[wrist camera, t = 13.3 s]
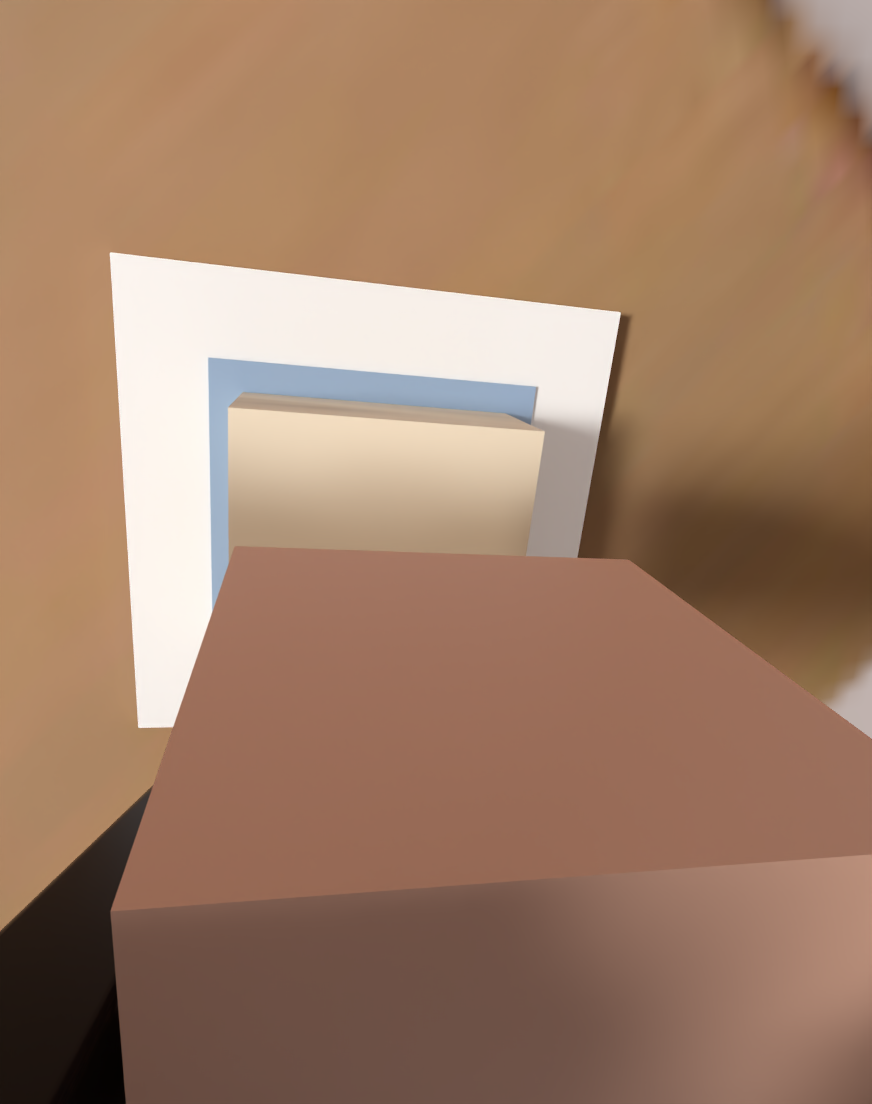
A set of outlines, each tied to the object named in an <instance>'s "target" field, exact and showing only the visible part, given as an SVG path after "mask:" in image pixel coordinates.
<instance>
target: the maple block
mask: <svg viewBox="0 0 872 1104" xmlns="http://www.w3.org/2000/svg"><path fill="white" fill-rule="evenodd" d="M544 434H545V431H543V430H541V429H538V428H536V427H534V426H532V425H530V424H528V423H525V422H523V421H521V420H519V419H517V418H515V417H512V416H510V415H508V414H506V413H496V412H484V411H471V410H459V409H447V408H434V407H422V406H410V405H397V404H385V403H373V402H360V401H348V400H336V399H323V398H311V397H299V396H286V395H274V394H262V393H249V392H242V393H241V394H240V396H239V397H238V398H237V399H236V400H235V401H234V402H233V403H232V404H231V405H230V406H229V407H228V538H229V561H230V558H231V556H232V553H233V550H234V547H235V546H249V547H278V548H307V549H336V550H365V551H394V552H422V553H451V554H480V555H509V556H526V553H527V546H528V540H529V533H530V526H531V520H532V513H533V507H534V500H535V494H536V487H537V480H538V474H539V467H540V461H541V454H542V448H543V441H544Z"/></svg>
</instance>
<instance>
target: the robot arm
mask: <svg viewBox="0 0 872 1104" xmlns="http://www.w3.org/2000/svg"><path fill="white" fill-rule="evenodd" d="M152 788H153V786H152V787H151V788H150V789H149V790H148V791H147V792H145V793H144V794H143V795H142V796H141V797H140V798H139V799H138V800H137V801H136V802H135V803H134V804H133V805H132V806H131V807H130V808H129V809H128V810H127V811H126V812H125V813H123V814H122V815H121V816H120V817H119V818H118V819H117V820H116V821H115V822H114V823H113V824H112V825H111V826H110V827H109V828H108V829H107V830H106V831H105V832H104V833H103V834H101V835H100V836H99V837H98V838H97V839H96V840H95V841H94V842H93V843H92V844H91V845H90V846H89V847H88V848H87V849H86V850H85V851H84V852H83V853H82V854H81V855H79V856H78V857H77V858H76V859H75V860H74V861H73V862H72V863H71V864H70V865H69V866H68V867H67V868H66V869H65V870H64V871H63V872H62V873H61V874H60V875H59V876H57V877H56V878H55V879H54V880H53V881H52V882H51V883H50V884H49V885H48V886H47V887H46V888H45V889H44V890H43V891H42V892H41V893H40V894H39V895H38V896H37V897H35V898H34V899H33V900H32V901H31V902H30V903H29V904H28V905H27V906H26V907H25V908H24V909H23V910H22V911H21V912H20V913H19V914H18V915H17V916H16V917H15V918H13V919H12V920H11V921H10V922H9V923H8V924H7V925H6V926H5V927H4V928H3V929H2V930H1V931H0V1104H126V1098H125V1086H124V1073H123V1061H122V1049H121V1036H120V1024H119V1011H118V999H117V987H116V974H115V962H114V950H113V937H112V925H111V912H110V911H111V908H112V905H113V902H114V899H115V896H116V893H117V891H118V888H119V885H120V882H121V879H122V876H123V873H124V870H125V867H126V864H127V861H128V858H129V855H130V852H131V849H132V846H133V844H134V841H135V838H136V835H137V832H138V829H139V826H140V823H141V820H142V817H143V814H144V811H145V808H146V805H147V802H148V799H149V797H150V794H151V791H152Z"/></svg>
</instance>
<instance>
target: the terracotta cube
mask: <svg viewBox="0 0 872 1104" xmlns="http://www.w3.org/2000/svg"><path fill="white" fill-rule="evenodd" d="M110 912H111V925H112V937H113V950H114V962H115V974H116V987H117V999H118V1011H119V1024H120V1036H121V1049H122V1061H123V1073H124V1086H125V1098H126V1104H872V739H871V738H870V737H868V736H867V735H866V734H864V733H863V732H862V731H860V730H859V729H858V728H856V727H855V726H854V725H852V724H851V723H849V722H848V721H847V720H845V719H844V718H843V717H841V716H840V715H839V714H837V713H836V712H835V711H833V710H832V709H831V708H829V707H828V706H826V705H825V704H824V703H822V702H821V701H820V700H818V699H817V698H816V697H814V696H813V695H812V694H810V693H809V692H807V691H806V690H805V689H803V688H802V687H801V686H799V685H798V684H797V683H795V682H794V681H793V680H791V679H790V678H789V677H787V676H786V675H784V674H783V673H782V672H780V671H779V670H778V669H776V668H775V667H774V666H772V665H771V664H770V663H768V662H767V661H765V660H764V659H763V658H761V657H760V656H759V655H757V654H756V653H755V652H753V651H752V650H751V649H749V648H748V647H746V646H745V645H744V644H742V643H741V642H740V641H738V640H737V639H736V638H734V637H733V636H732V635H730V634H729V633H728V632H726V631H725V630H723V629H722V628H721V627H719V626H718V625H717V624H715V623H714V622H713V621H711V620H710V619H709V618H707V617H706V616H704V615H703V614H702V613H700V612H699V611H698V610H696V609H695V608H694V607H692V606H691V605H690V604H688V603H687V602H685V601H684V600H683V599H681V598H680V597H679V596H677V595H676V594H675V593H673V592H672V591H671V590H669V589H668V588H667V587H665V586H664V585H662V584H661V583H660V582H658V581H657V580H656V579H654V578H653V577H652V576H650V575H649V574H648V573H646V572H645V571H643V570H642V569H641V568H639V567H638V566H637V565H635V564H634V563H633V562H631V561H630V560H625V559H596V558H567V557H538V556H509V555H480V554H451V553H422V552H394V551H365V550H336V549H307V548H278V547H249V546H235V547H234V550H233V553H232V556H231V558H230V561H229V564H228V567H227V570H226V573H225V576H224V579H223V582H222V585H221V588H220V591H219V594H218V597H217V600H216V603H215V606H214V608H213V611H212V614H211V617H210V620H209V623H208V626H207V629H206V632H205V635H204V638H203V641H202V644H201V647H200V650H199V653H198V655H197V658H196V661H195V664H194V667H193V670H192V673H191V676H190V679H189V682H188V685H187V688H186V691H185V694H184V697H183V700H182V702H181V705H180V708H179V711H178V714H177V717H176V720H175V723H174V726H173V729H172V732H171V735H170V738H169V741H168V744H167V747H166V749H165V752H164V755H163V758H162V761H161V764H160V767H159V770H158V773H157V776H156V779H155V782H154V785H153V788H152V791H151V794H150V797H149V799H148V802H147V805H146V808H145V811H144V814H143V817H142V820H141V823H140V826H139V829H138V832H137V835H136V838H135V841H134V844H133V846H132V849H131V852H130V855H129V858H128V861H127V864H126V867H125V870H124V873H123V876H122V879H121V882H120V885H119V888H118V891H117V893H116V896H115V899H114V902H113V905H112V908H111V911H110Z"/></svg>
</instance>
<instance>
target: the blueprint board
mask: <svg viewBox="0 0 872 1104" xmlns="http://www.w3.org/2000/svg"><path fill="white" fill-rule="evenodd" d="M110 262H111V279H112V296H113V312H114V329H115V346H116V362H117V379H118V396H119V412H120V429H121V446H122V462H123V479H124V496H125V512H126V529H127V546H128V562H129V579H130V596H131V612H132V629H133V646H134V662H135V679H136V696H137V712H138V728H153V727H173V726H174V723H175V720H176V717H177V714H178V711H179V708H180V705H181V702H182V700H183V697H184V694H185V691H186V688H187V685H188V682H189V679H190V676H191V673H192V670H193V667H194V664H195V661H196V658H197V655H198V653H199V650H200V647H201V644H202V641H203V638H204V635H205V632H206V629H207V626H208V623H209V620H210V617H211V614H212V611H213V608H214V606H215V603H216V600H217V597H218V594H219V591H220V588H221V585H222V582H223V579H224V576H225V573H226V570H227V567H228V564H229V538H228V407H229V406H230V405H231V404H232V403H233V402H234V401H235V400H236V399H237V398H238V397H239V396H240V394H241V393H242V392H249V393H262V394H274V395H286V396H299V397H311V398H323V399H336V400H348V401H360V402H373V403H385V404H397V405H410V406H422V407H434V408H447V409H459V410H471V411H484V412H496V413H506V414H508V415H510V416H512V417H515V418H517V419H519V420H521V421H523V422H525V423H528V424H530V425H532V426H534V427H536V428H538V429H541V430H543V431H545V434H544V441H543V448H542V454H541V461H540V467H539V474H538V480H537V487H536V494H535V500H534V507H533V513H532V520H531V526H530V533H529V540H528V546H527V553H526V556H538V557H567V558H577V557H578V551H579V545H580V540H581V534H582V529H583V523H584V517H585V512H586V506H587V500H588V495H589V489H590V484H591V478H592V472H593V467H594V461H595V455H596V450H597V444H598V439H599V433H600V427H601V422H602V416H603V410H604V405H605V399H606V394H607V388H608V382H609V377H610V371H611V365H612V360H613V354H614V349H615V343H616V337H617V332H618V326H619V320H620V315H621V312H613V311H605V310H596V309H588V308H579V307H571V306H562V305H554V304H545V303H537V302H528V301H519V300H511V299H502V298H494V297H485V296H477V295H468V294H460V293H451V292H443V291H434V290H426V289H417V288H409V287H400V286H392V285H383V284H375V283H366V282H358V281H349V280H341V279H332V278H324V277H315V276H307V275H298V274H290V273H281V272H273V271H264V270H256V269H247V268H238V267H230V266H221V265H213V264H204V263H196V262H187V261H179V260H170V259H162V258H153V257H145V256H136V255H128V254H119V253H111V252H110Z"/></svg>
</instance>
